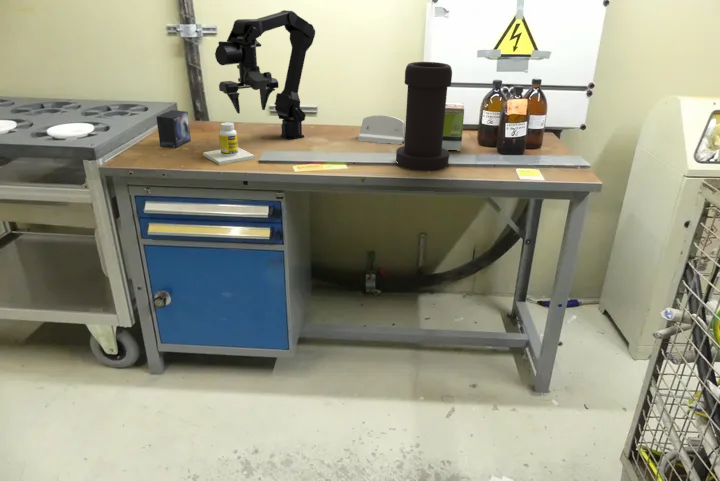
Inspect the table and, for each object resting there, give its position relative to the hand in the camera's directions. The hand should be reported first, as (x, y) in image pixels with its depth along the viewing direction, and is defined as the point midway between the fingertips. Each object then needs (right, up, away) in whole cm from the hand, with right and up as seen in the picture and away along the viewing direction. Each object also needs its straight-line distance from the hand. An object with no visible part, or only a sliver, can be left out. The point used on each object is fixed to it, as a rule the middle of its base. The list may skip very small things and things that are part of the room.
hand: (251, 111), depth 176 cm
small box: (-27, -10, +7) cm, 30 cm away
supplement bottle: (-6, -15, -6) cm, 17 cm away
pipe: (+56, -18, -7) cm, 59 cm away
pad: (-6, -16, -6) cm, 18 cm away
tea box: (+64, -10, +10) cm, 65 cm away
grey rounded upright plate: (+44, -7, +17) cm, 48 cm away
